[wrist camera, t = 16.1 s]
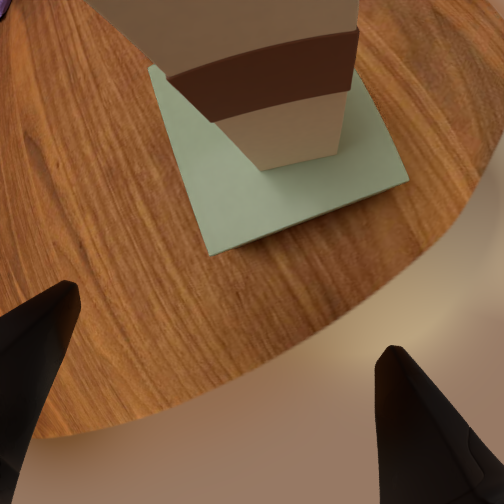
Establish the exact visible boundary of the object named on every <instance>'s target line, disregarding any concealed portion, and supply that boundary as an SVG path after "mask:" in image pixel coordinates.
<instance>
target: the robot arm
mask: <svg viewBox="0 0 504 504" xmlns="http://www.w3.org/2000/svg"><path fill="white" fill-rule="evenodd" d="M80 310H81V301H80V295H79V289H78V285H77V284H76V283H74V282H71V281H67V280H63V281H61V282H59V283H57V284H56V285H54V286H52V287H50V288H48V289H47V290H45V291H43V292H42V293H40V294H38V295H36V296H35V297H33V298H31V299H30V300H28V301H26V302H24V303H23V304H21V305H19V306H18V307H16V308H14V309H13V310H11V311H9V312H8V313H6V314H5V315H3V316H1V317H0V504H11V502H12V499H13V495H14V491H15V488H16V484H17V481H18V477H19V474H20V473H19V472H20V470H21V467H22V464H23V461H24V458H25V455H26V452H27V449H28V446H29V443H30V440H31V437H32V434H33V432H34V429H35V426H36V424H37V421H38V418H39V416H40V413H41V411H42V408H43V406H44V403H45V401H46V398H47V396H48V393H49V391H50V388H51V386H52V384H53V381H54V379H55V377H56V374H57V372H58V370H59V368H60V365H61V363H62V361H63V359H64V356H65V353H66V351H67V348H68V345H69V342H70V339H71V336H72V333H73V330H74V328H75V325H76V322H77V319H78V316H79V314H80ZM375 422H376V433H377V447H378V463H379V486H380V504H504V465H503V464H502V463H501V462H500V461H499V460H498V459H497V458H496V456H494V454H493V453H492V452H491V451H490V450H489V449H488V448H487V447H486V446H485V444H484V443H483V442H482V441H481V439H479V437H478V436H477V435H476V433H475V432H474V431H473V430H472V428H471V427H469V425H468V424H467V422H466V421H465V420H464V419H463V417H462V416H461V415H460V414H459V413H458V411H457V410H456V409H455V408H454V407H453V405H452V404H451V403H450V402H449V401H448V399H447V398H446V397H445V396H444V395H443V393H442V392H441V391H440V390H439V389H438V388H437V386H436V385H435V384H434V383H433V382H432V380H431V379H430V378H429V377H428V376H427V375H426V374H425V373H424V371H423V370H422V369H421V368H420V367H419V365H418V364H417V363H416V362H415V361H414V360H413V359H412V357H411V356H410V355H409V354H408V353H407V352H406V351H405V349H403V347H401V346H394V345H390V346H388V347H387V348H386V350H385V351H384V352H383V354H382V355H381V356H380V358H379V359H378V360H377V362H376V364H375Z"/></svg>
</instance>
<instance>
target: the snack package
mask: <svg viewBox="0 0 504 504" xmlns="http://www.w3.org/2000/svg"><path fill="white" fill-rule="evenodd" d="M10 2H11V0H0V17H1V16H2V15H3V14H4V13H5V12H6V11H7V9H8V7H9V4H10Z"/></svg>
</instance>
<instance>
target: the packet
mask: <svg viewBox="0 0 504 504" xmlns="http://www.w3.org/2000/svg"><path fill="white" fill-rule="evenodd" d="M84 1H85V2H86V3H87V4H89V5H90V6H91V7H92V8H93V9H94V10H96V11H97V12H98V13H99V14H100V15H101V16H102V17H104V18H105V19H106V20H107V21H108V22H109V23H110V24H112V25H113V26H114V27H115V28H116V29H117V30H118V31H119V32H121V33H122V34H123V35H124V36H125V37H126V38H127V39H128V40H129V41H130V42H132V43H133V44H134V45H135V46H136V47H137V48H138V49H139V50H140V51H141V52H142V53H143V54H144V55H146V56H147V57H148V58H149V59H150V60H151V61H152V62H153V63H154V64H155V65H156V66H157V67H158V68H159V69H160V70H161V71H162V72H163V73H165V75H166V80H167V81H168V82H169V83H170V84H171V85H172V86H173V87H174V88H175V89H176V90H177V91H178V92H179V93H180V94H182V95H183V96H184V97H185V98H186V99H187V100H188V101H189V102H190V103H191V104H192V105H193V106H194V107H195V108H196V109H197V110H198V111H199V112H200V113H201V114H202V115H203V116H204V117H205V118H206V119H207V120H208V121H209V122H210V123H215V124H216V125H217V126H218V127H219V128H220V129H221V130H222V131H223V133H224V134H225V135H226V136H227V137H228V138H229V139H230V140H231V141H232V142H233V143H234V144H235V145H236V146H237V147H238V148H239V149H240V150H241V151H242V153H243V154H244V155H245V156H246V157H247V158H248V159H249V160H250V161H251V162H252V163H253V164H254V165H255V166H256V168H257V169H258V170H259V171H264V170H268V169H273V168H277V167H281V166H286V165H290V164H295V163H299V162H304V161H309V160H313V159H318V158H323V157H328V156H333V155H336V154H337V151H338V145H339V140H340V134H341V129H342V123H343V117H344V111H345V105H346V99H347V92H348V91H350V90H351V84H352V78H353V72H354V65H355V59H356V52H357V46H358V39H359V29H358V27H357V18H358V9H359V0H84Z"/></svg>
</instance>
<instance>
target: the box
mask: <svg viewBox="0 0 504 504" xmlns="http://www.w3.org/2000/svg"><path fill="white" fill-rule="evenodd" d="M148 72H149V75H150V78H151V82H152V85H153V88H154V92H155V95H156V98H157V101H158V105H159V108H160V111H161V114H162V117H163V121H164V124H165V127H166V130H167V133H168V136H169V139H170V143H171V146H172V149H173V152H174V155H175V158H176V161H177V164H178V167H179V170H180V173H181V176H182V179H183V182H184V185H185V188H186V191H187V194H188V197H189V199H190V202H191V205H192V208H193V211H194V214H195V217H196V220H197V222H198V225H199V228H200V231H201V234H202V237H203V239H204V242H205V245H206V248H207V251H208V253H209V256H215V255H217V254H220V253H222V252H225V251H228V250H230V249H235V248H238V247H240V246H243V245H245V244H248V243H251V242H253V241H256V240H258V239H261V238H264V237H266V236H269V235H271V234H274V233H277V232H279V231H282V230H284V229H287V228H290V227H292V226H295V225H297V224H300V223H303V222H305V221H308V220H311V219H313V218H316V217H318V216H321V215H324V214H326V213H329V212H332V211H334V210H337V209H339V208H342V207H345V206H347V205H350V204H353V203H355V202H358V201H361V200H363V199H366V198H369V197H371V196H374V195H377V194H379V193H382V192H385V191H387V190H388V189H390V188H393V187H395V186H398V185H401V184H403V183H406V182H408V181H409V177H408V174H407V172H406V170H405V167H404V165H403V163H402V160H401V158H400V156H399V153H398V151H397V149H396V147H395V145H394V142H393V140H392V138H391V136H390V134H389V132H388V130H387V128H386V126H385V124H384V122H383V120H382V118H381V116H380V114H379V112H378V110H377V108H376V106H375V104H374V102H373V100H372V98H371V96H370V95H369V93H368V91H367V89H366V87H365V85H364V84H363V82H362V80H361V78H360V77H359V75H358V73H357V71H356V70H355V68H354V72H353V78H352V84H351V90H350V91H348V92H347V99H346V105H345V111H344V117H343V123H342V129H341V134H340V140H339V145H338V151H337V154H336V155H333V156H328V157H323V158H318V159H313V160H309V161H304V162H299V163H295V164H290V165H286V166H281V167H277V168H273V169H268V170H264V171H259V170H258V169H257V168H256V166H255V165H254V164H253V163H252V162H251V161H250V160H249V159H248V158H247V157H246V156H245V155H244V154H243V153H242V151H241V150H240V149H239V148H238V147H237V146H236V145H235V144H234V143H233V142H232V141H231V140H230V139H229V138H228V137H227V136H226V135H225V134H224V133H223V131H222V130H221V129H220V128H219V127H218V126H217V125H216V124H215V123H210V122H209V121H208V120H207V119H206V118H205V117H204V116H203V115H202V114H201V113H200V112H199V111H198V110H197V109H196V108H195V107H194V106H193V105H192V104H191V103H190V102H189V101H188V100H187V99H186V98H185V97H184V96H183V95H182V94H180V93H179V92H178V91H177V90H176V89H175V88H174V87H173V86H172V85H171V84H170V83H169V82H168V81H167V80H166V75H165V73H163V72H162V71H161V70H160V69H159V68H158V67H157V66H156V65H155V64H153V65H152V66H150V67H148Z"/></svg>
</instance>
